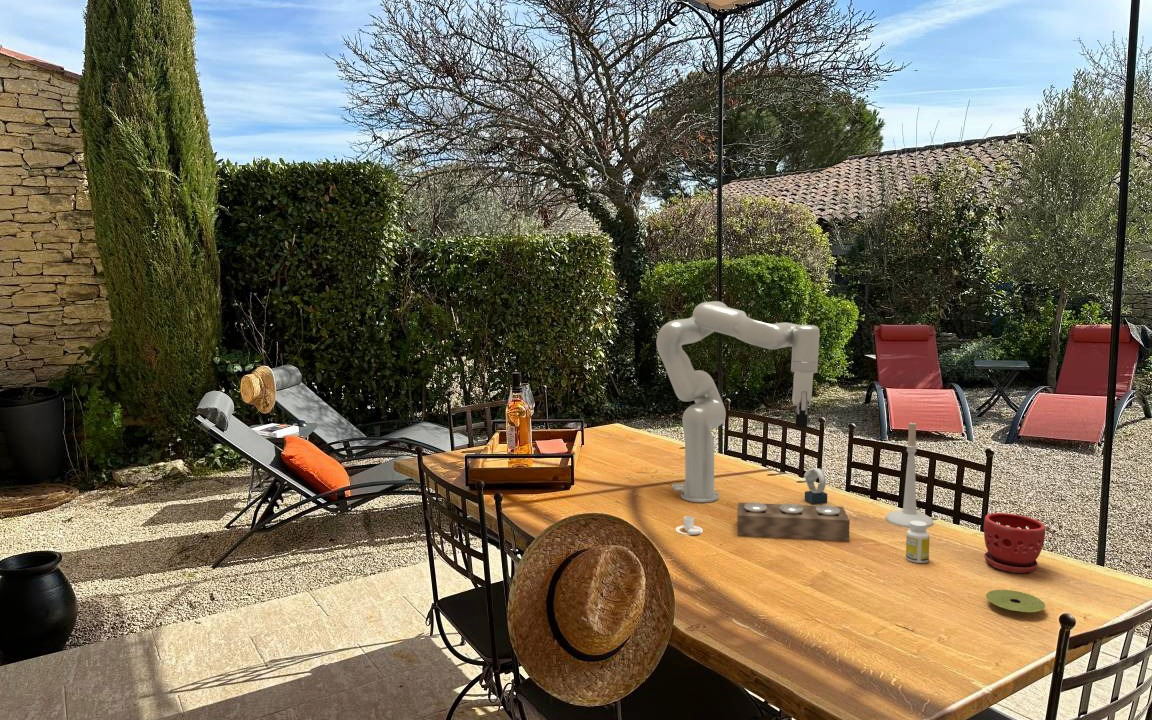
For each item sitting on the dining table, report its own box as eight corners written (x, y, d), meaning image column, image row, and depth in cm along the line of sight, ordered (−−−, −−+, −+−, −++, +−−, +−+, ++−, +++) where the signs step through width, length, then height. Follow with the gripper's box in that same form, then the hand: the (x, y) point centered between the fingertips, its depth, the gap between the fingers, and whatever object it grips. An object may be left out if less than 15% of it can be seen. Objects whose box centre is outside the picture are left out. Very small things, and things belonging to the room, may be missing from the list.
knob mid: (780, 528, 212) (780, 510, 211) (778, 521, 218) (779, 503, 217) (803, 529, 210) (804, 511, 210) (801, 522, 216) (801, 504, 216)
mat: (1021, 624, 156) (1021, 615, 156) (974, 603, 167) (974, 594, 166) (1056, 613, 161) (1057, 605, 161) (1008, 593, 171) (1008, 585, 171)
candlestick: (876, 517, 224) (879, 420, 221) (907, 511, 229) (911, 415, 226) (910, 530, 213) (914, 427, 209) (943, 524, 218) (946, 423, 214)
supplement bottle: (927, 557, 193) (928, 520, 192) (929, 564, 188) (931, 527, 187) (904, 554, 195) (906, 518, 194) (906, 562, 190) (907, 525, 189)
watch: (816, 497, 245) (817, 465, 244) (830, 504, 237) (830, 471, 236) (801, 499, 244) (801, 466, 242) (814, 506, 236) (815, 472, 235)
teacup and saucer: (702, 538, 212) (702, 524, 211) (674, 536, 213) (674, 522, 213) (703, 527, 220) (703, 514, 220) (676, 526, 222) (676, 513, 221)
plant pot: (1022, 581, 178) (1024, 532, 176) (970, 562, 189) (972, 517, 188) (1054, 570, 184) (1057, 523, 182) (1003, 552, 195) (1005, 508, 194)
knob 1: (744, 527, 214) (744, 508, 213) (743, 519, 220) (743, 502, 219) (767, 528, 212) (767, 509, 212) (766, 520, 218) (766, 502, 218)
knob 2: (817, 530, 210) (817, 511, 209) (814, 522, 216) (814, 504, 215) (840, 531, 208) (841, 512, 208) (837, 523, 214) (837, 505, 214)
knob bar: (738, 535, 211) (738, 515, 211) (737, 521, 223) (737, 502, 222) (849, 541, 205) (849, 520, 205) (842, 526, 217) (842, 506, 216)
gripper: (789, 362, 229) (786, 420, 232) (792, 369, 215) (789, 431, 217) (815, 363, 227) (812, 422, 230) (819, 370, 213) (816, 433, 215)
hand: (801, 426), depth 224 cm, fingers closed
